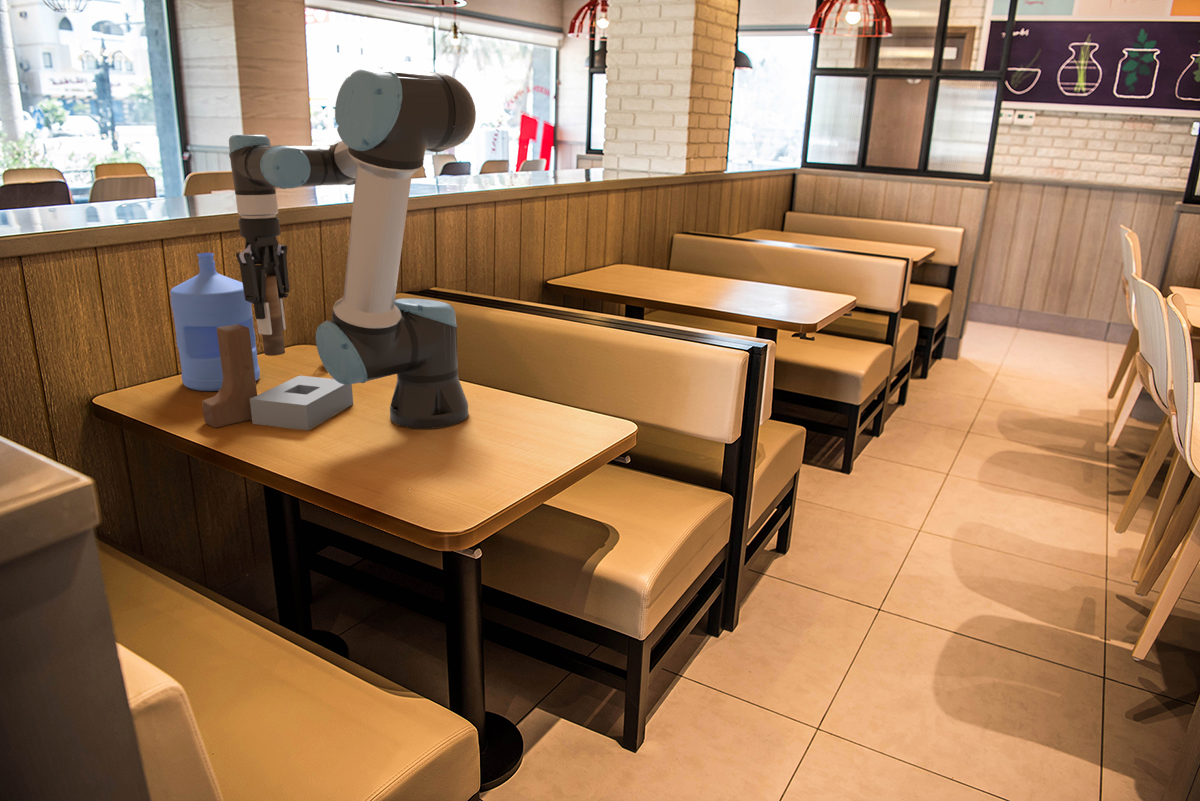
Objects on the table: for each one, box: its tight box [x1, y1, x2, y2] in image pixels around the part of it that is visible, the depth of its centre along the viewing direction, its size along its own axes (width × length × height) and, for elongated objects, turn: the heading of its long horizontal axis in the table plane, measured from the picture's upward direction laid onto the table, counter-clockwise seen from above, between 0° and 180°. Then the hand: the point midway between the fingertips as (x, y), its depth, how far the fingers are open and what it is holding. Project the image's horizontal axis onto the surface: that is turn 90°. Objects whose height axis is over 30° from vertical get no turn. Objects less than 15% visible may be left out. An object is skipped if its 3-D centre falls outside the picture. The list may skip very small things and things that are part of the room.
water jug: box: [169, 252, 261, 392], centre depth 177 cm, size 16×16×28 cm
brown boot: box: [201, 324, 258, 429], centre depth 156 cm, size 9×4×18 cm, turn 137°
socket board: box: [250, 375, 354, 431], centre depth 162 cm, size 16×12×5 cm
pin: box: [261, 274, 286, 357], centre depth 170 cm, size 4×4×16 cm
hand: (272, 331), depth 171 cm, fingers closed on pin, 4 cm apart
